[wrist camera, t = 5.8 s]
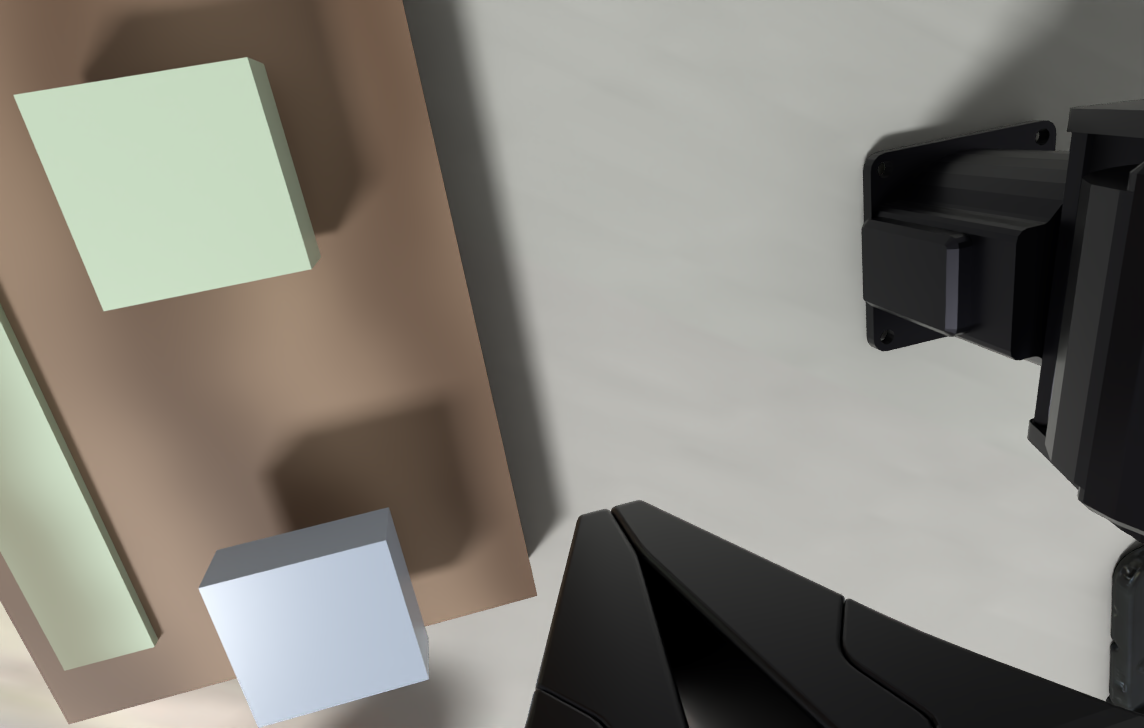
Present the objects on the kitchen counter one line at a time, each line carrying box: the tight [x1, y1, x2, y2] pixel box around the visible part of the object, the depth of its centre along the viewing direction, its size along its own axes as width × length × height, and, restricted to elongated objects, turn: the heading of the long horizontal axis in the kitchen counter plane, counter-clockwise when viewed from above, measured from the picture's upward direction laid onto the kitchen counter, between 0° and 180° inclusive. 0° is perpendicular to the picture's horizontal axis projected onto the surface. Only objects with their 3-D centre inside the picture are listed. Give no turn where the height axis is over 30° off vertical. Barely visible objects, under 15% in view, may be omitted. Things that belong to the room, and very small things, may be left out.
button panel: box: [0, 0, 537, 724], centre depth 17 cm, size 14×28×2 cm, turn 10°
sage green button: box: [13, 57, 321, 311], centre depth 15 cm, size 4×4×2 cm
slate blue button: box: [198, 507, 429, 728], centre depth 18 cm, size 4×4×2 cm
